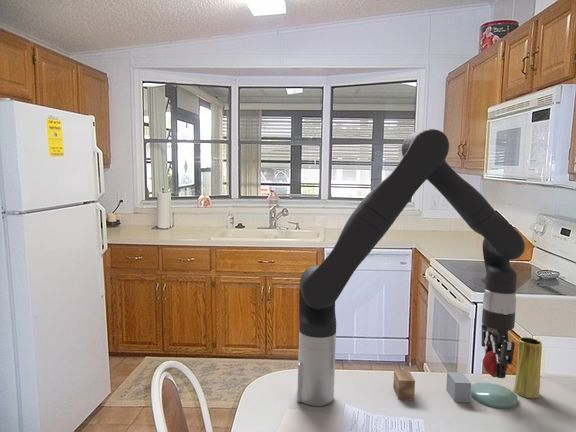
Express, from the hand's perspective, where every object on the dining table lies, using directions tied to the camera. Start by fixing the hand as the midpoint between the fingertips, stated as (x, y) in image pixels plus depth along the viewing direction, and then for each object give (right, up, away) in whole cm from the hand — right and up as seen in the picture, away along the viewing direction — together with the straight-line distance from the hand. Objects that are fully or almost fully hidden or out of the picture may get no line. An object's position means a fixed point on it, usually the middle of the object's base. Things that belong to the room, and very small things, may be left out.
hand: (494, 371), depth 112 cm
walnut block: (-23, -6, +1) cm, 24 cm away
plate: (0, -7, +1) cm, 7 cm away
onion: (0, -2, 0) cm, 2 cm away
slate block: (-9, -7, +1) cm, 11 cm away
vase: (+10, -7, +3) cm, 13 cm away
